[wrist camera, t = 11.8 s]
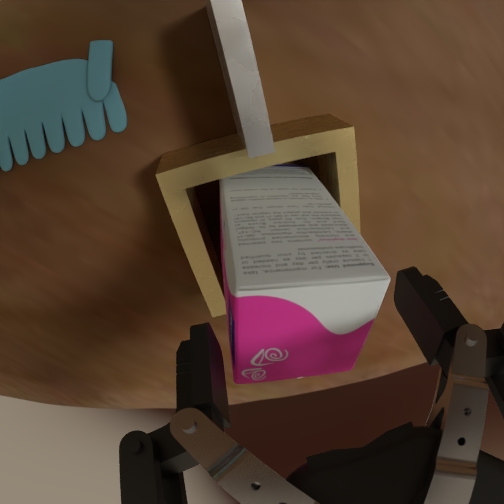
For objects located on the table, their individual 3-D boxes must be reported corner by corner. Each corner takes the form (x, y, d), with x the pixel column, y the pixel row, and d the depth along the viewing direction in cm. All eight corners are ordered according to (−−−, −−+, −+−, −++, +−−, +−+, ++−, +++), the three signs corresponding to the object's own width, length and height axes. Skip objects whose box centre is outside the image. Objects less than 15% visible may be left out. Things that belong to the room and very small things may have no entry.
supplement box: (214, 163, 19) (234, 289, 10) (308, 163, 20) (402, 274, 11) (215, 244, 22) (233, 389, 13) (298, 240, 23) (360, 371, 14)
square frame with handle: (124, 31, 13) (98, 23, 9) (306, -9, 13) (341, -26, 9) (235, 346, 29) (242, 392, 25) (344, 316, 29) (363, 358, 25)
